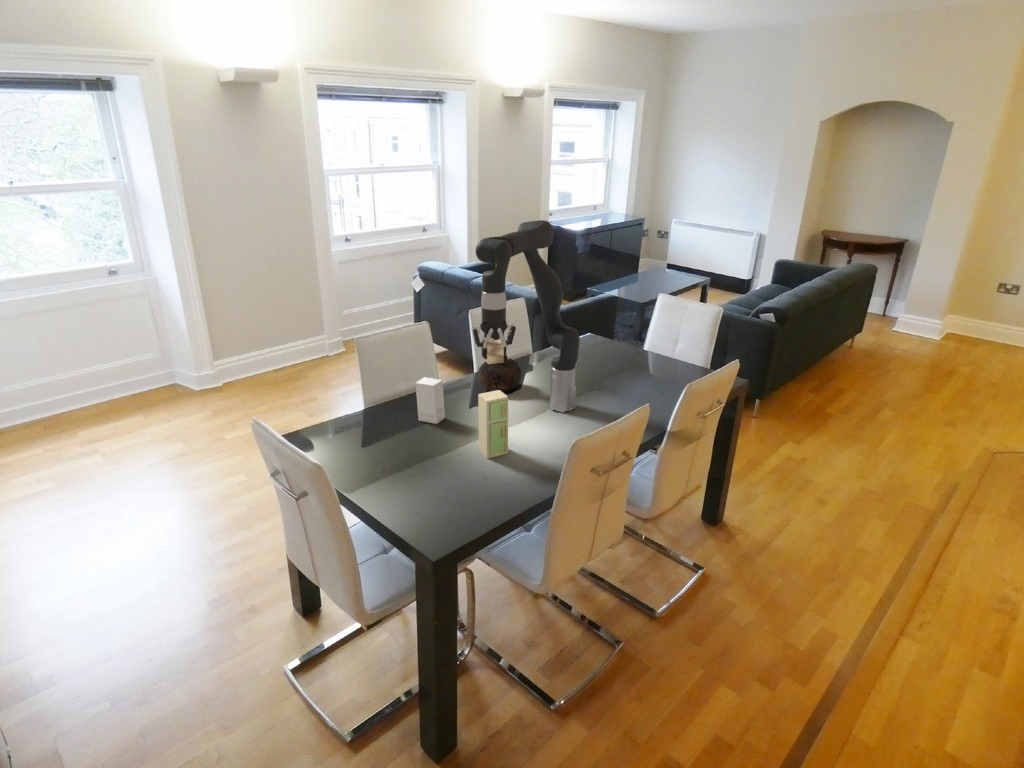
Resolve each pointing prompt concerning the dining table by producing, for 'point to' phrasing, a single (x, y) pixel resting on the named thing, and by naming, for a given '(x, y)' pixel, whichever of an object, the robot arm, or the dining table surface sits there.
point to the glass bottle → (500, 374)
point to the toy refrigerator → (493, 423)
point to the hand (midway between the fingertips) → (493, 357)
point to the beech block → (495, 352)
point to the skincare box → (430, 400)
